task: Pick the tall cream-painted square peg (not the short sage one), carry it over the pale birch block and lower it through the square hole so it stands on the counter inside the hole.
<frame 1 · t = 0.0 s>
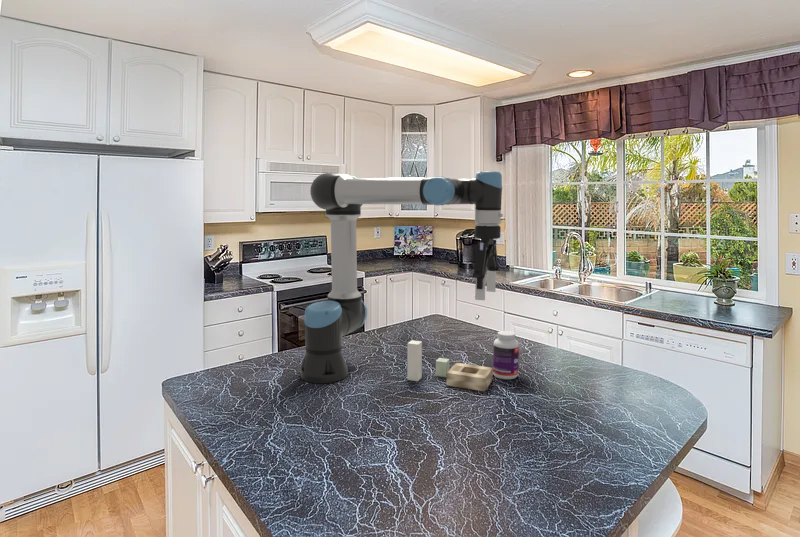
hand: (485, 295, 145), 28 cm above the countertop, fingers open, 13 cm apart
short peg: (442, 374, 157), on the countertop
hole block: (469, 382, 150), on the countertop
pill bottle: (505, 376, 156), on the countertop
long peg: (414, 378, 154), on the countertop
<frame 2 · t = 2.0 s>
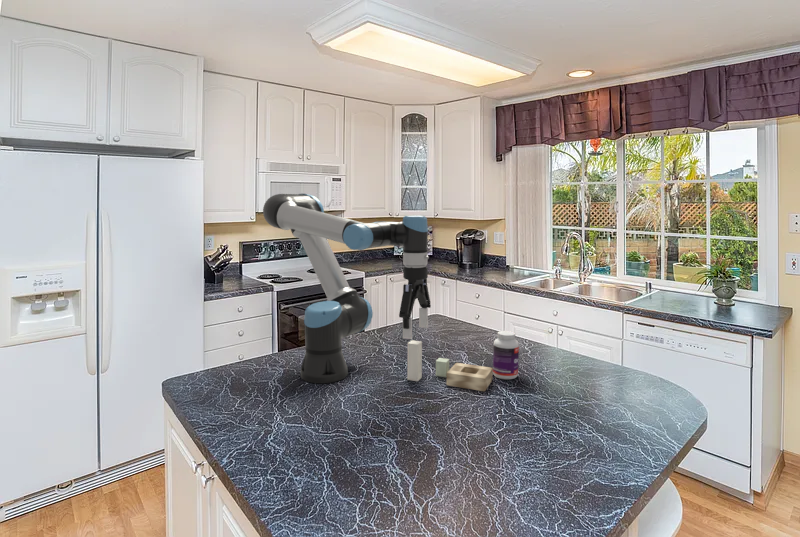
hand: (415, 333, 151), 15 cm above the countertop, fingers open, 13 cm apart
nothing on the countertop moved.
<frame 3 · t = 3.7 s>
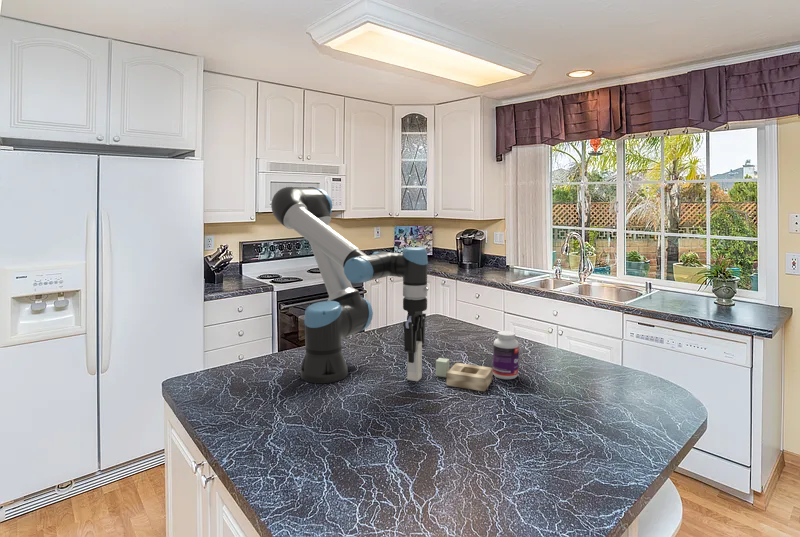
hand: (414, 369, 153), 3 cm above the countertop, fingers closed on long peg, 3 cm apart
long peg: (414, 378, 154), on the countertop, touching gripper
everything else where it was.
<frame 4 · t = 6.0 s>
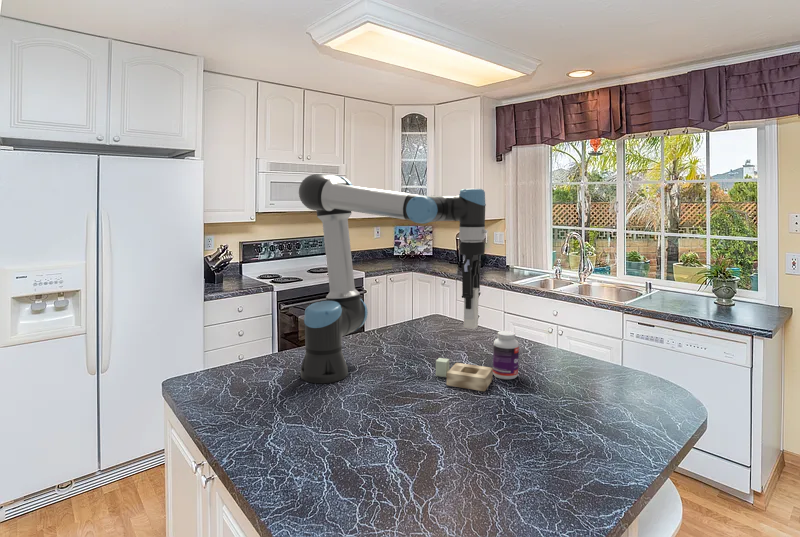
hand: (470, 317, 147), 21 cm above the countertop, fingers closed on long peg, 3 cm apart
long peg: (470, 327, 148), point 18 cm above the countertop, touching gripper
everything else where it was.
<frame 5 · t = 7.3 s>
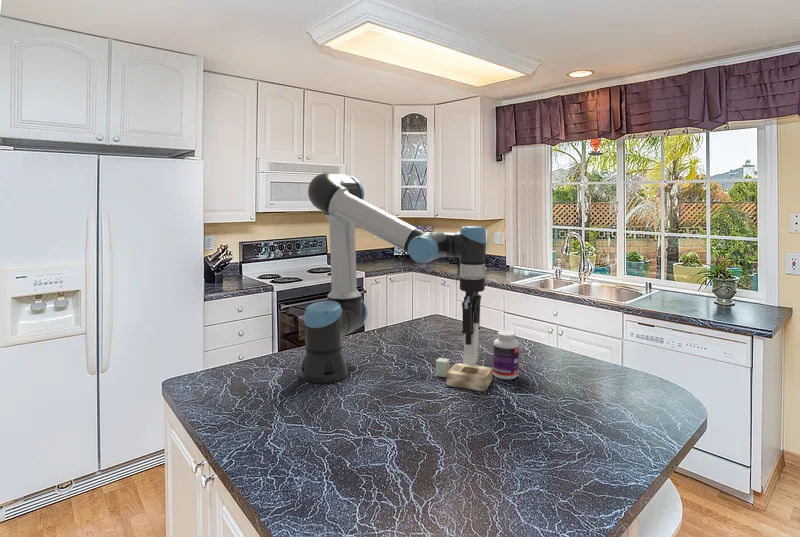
hand: (470, 352, 149), 10 cm above the countertop, fingers closed on long peg, 3 cm apart
long peg: (470, 361, 149), point 7 cm above the countertop, touching gripper
everything else where it was.
when the fingers open (5 cm above the countertop, at t = 8.4 s): long peg drops 2 cm, resting in hole block.
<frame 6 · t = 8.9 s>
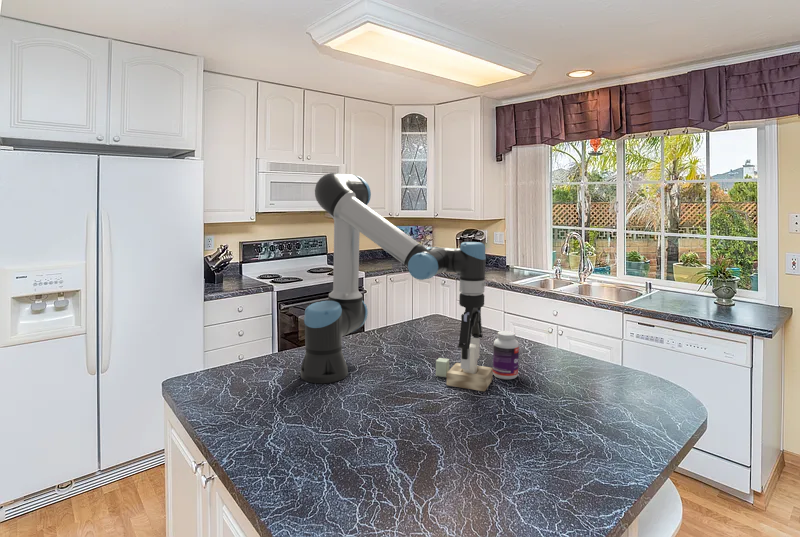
hand: (470, 362, 149), 6 cm above the countertop, fingers open, 10 cm apart
long peg: (469, 382, 150), resting in hole block
everything else where it was.
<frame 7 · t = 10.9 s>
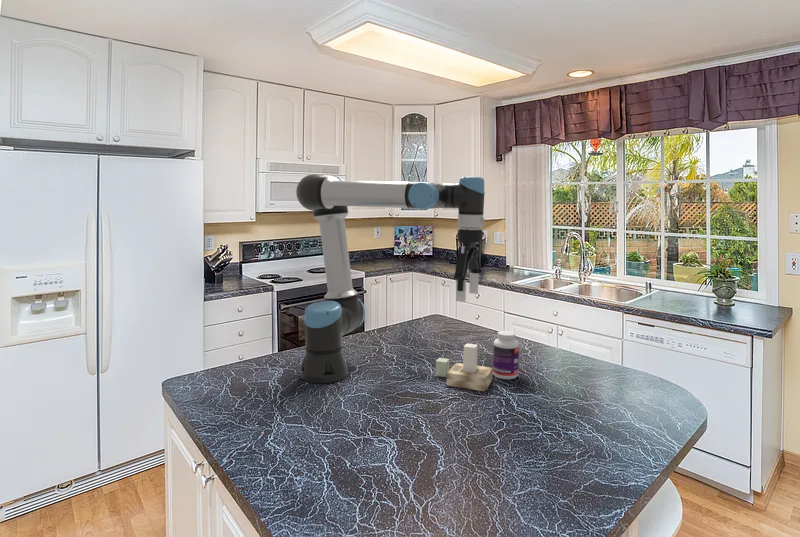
hand: (467, 297, 149), 27 cm above the countertop, fingers open, 13 cm apart
nothing on the countertop moved.
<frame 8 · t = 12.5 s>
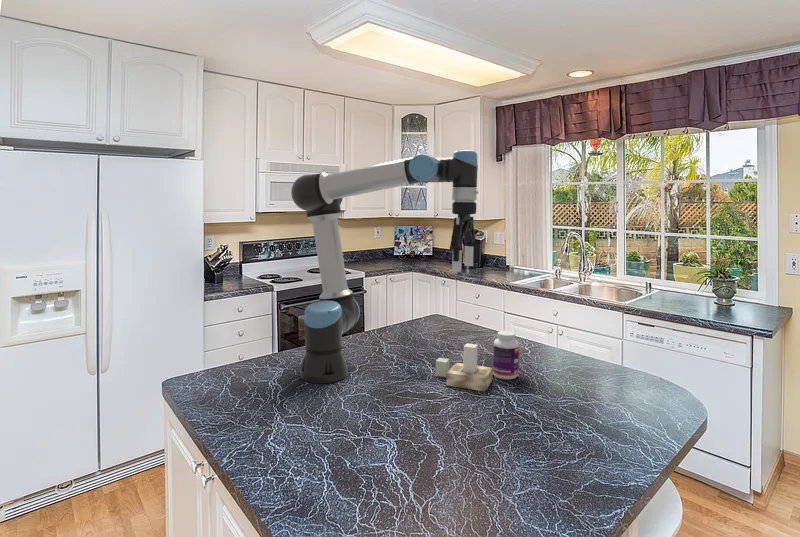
hand: (462, 268, 154), 35 cm above the countertop, fingers open, 13 cm apart
nothing on the countertop moved.
at the end: long peg 0.0 cm off-centre on the hole block, point 0.0 cm above the hole block's base; long peg tilted 0°; short peg moved 0.1 cm from its start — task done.
